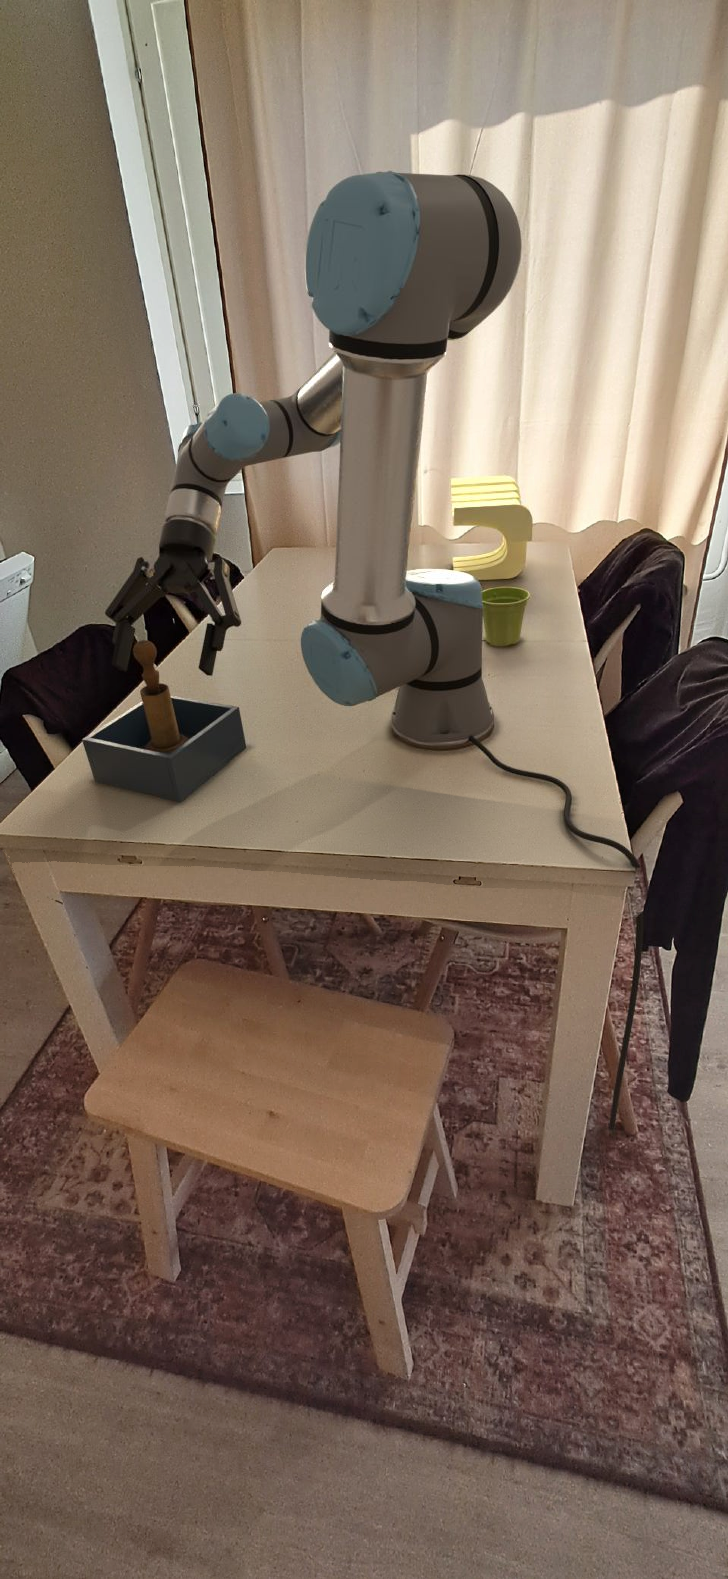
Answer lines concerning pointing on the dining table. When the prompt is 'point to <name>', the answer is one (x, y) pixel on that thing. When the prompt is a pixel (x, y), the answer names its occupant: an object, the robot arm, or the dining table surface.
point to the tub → (168, 776)
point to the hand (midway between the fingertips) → (161, 670)
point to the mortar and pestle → (157, 703)
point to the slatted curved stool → (492, 524)
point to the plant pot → (503, 614)
